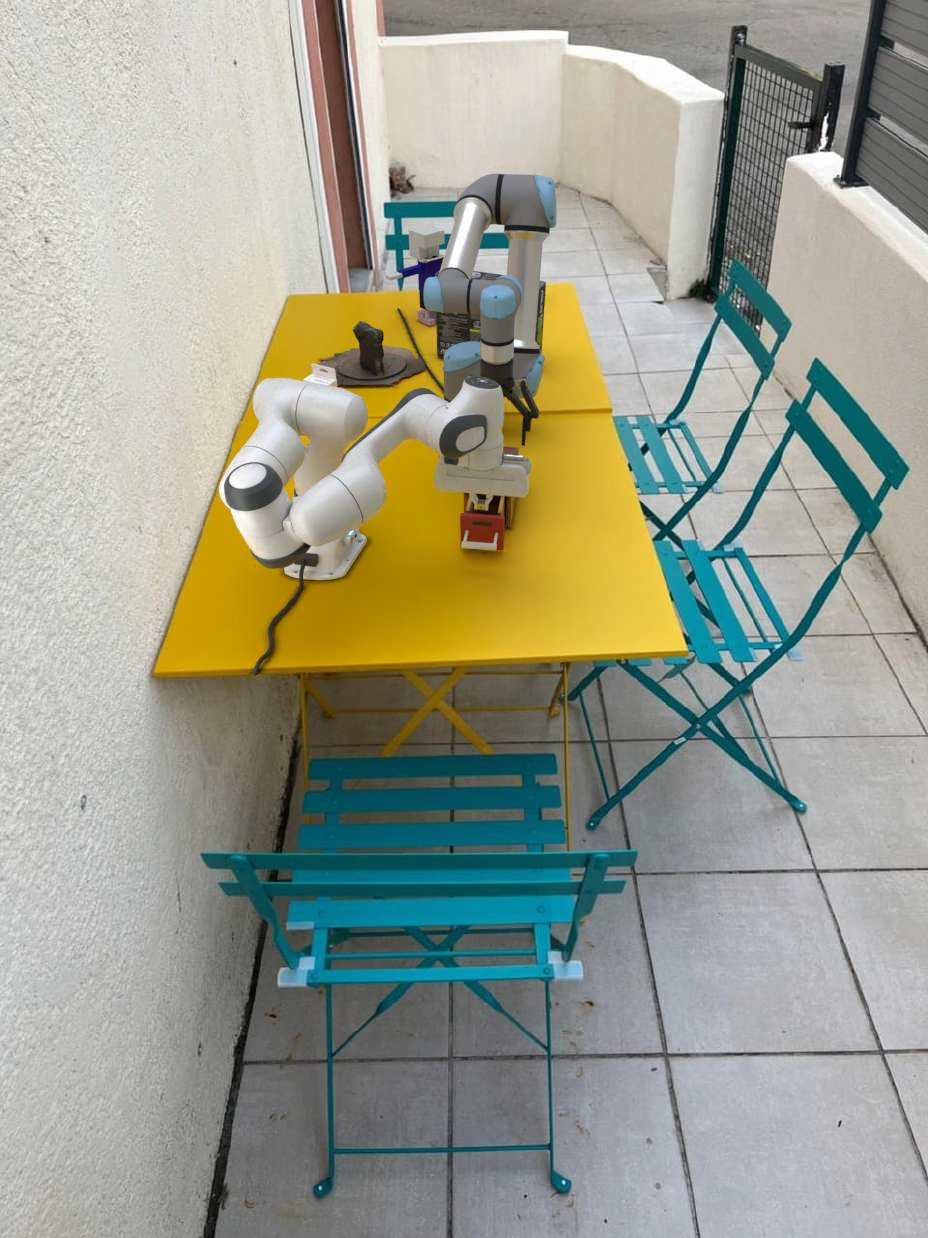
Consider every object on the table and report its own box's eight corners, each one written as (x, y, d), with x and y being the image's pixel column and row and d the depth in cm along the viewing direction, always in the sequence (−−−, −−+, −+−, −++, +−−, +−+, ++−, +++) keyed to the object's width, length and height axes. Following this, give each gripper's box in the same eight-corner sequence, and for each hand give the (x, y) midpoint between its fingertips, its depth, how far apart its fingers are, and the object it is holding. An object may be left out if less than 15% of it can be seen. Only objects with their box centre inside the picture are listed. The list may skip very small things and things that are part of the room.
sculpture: (406, 397, 263) (403, 345, 252) (297, 384, 270) (290, 333, 259) (437, 352, 287) (436, 303, 277) (336, 341, 294) (331, 293, 284)
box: (542, 365, 279) (547, 279, 262) (535, 374, 274) (539, 287, 257) (444, 349, 289) (443, 265, 272) (435, 358, 284) (433, 273, 266)
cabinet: (510, 528, 210) (511, 490, 203) (463, 525, 211) (463, 487, 205) (517, 484, 225) (519, 447, 219) (474, 481, 227) (474, 444, 220)
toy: (460, 304, 319) (459, 216, 299) (477, 312, 313) (477, 222, 294) (381, 329, 302) (375, 237, 283) (398, 337, 296) (393, 244, 277)
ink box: (306, 417, 253) (300, 368, 244) (316, 410, 257) (310, 362, 247) (331, 424, 250) (326, 375, 241) (341, 416, 254) (336, 368, 244)
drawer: (500, 566, 197) (501, 534, 192) (456, 563, 198) (456, 531, 193) (511, 505, 216) (512, 474, 211) (471, 502, 217) (470, 472, 212)
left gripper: (533, 448, 184) (530, 504, 193) (437, 441, 187) (438, 497, 196) (530, 463, 179) (527, 520, 188) (431, 456, 182) (433, 512, 191)
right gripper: (553, 353, 201) (548, 436, 215) (444, 348, 204) (446, 430, 218) (551, 368, 196) (546, 452, 210) (439, 362, 198) (442, 445, 212)
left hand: (481, 508), depth 192 cm, fingers closed
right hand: (495, 441), depth 214 cm, fingers open, 13 cm apart
